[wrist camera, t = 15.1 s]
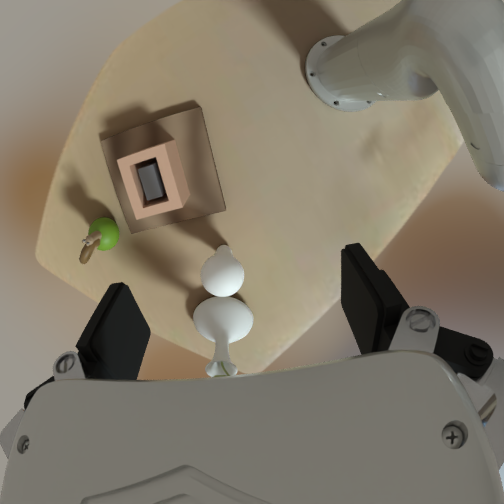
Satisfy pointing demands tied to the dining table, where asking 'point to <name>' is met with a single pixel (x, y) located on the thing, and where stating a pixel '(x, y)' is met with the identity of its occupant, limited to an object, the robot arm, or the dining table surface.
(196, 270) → the dining table surface
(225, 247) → the lightbulb
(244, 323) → the flower in vase
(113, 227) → the snail figurine
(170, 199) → the tan rectangular frame
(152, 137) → the hub plate
